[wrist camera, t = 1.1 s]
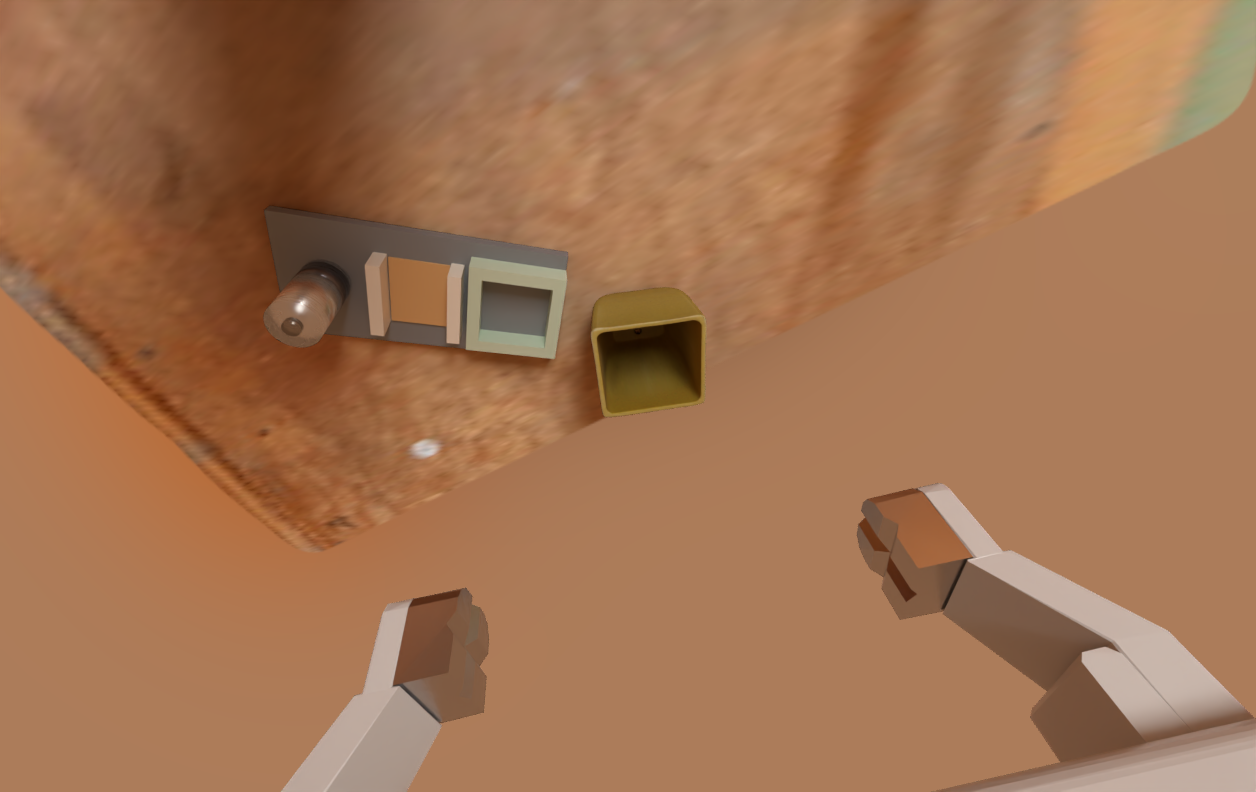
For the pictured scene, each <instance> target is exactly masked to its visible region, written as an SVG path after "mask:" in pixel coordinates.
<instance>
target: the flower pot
mask: <svg viewBox="0 0 1256 792" xmlns="http://www.w3.org/2000/svg"><path fill="white" fill-rule="evenodd" d="M636 329H641V332H640V333H636V332H635V330H636ZM591 342H592V347H593V354H594V360H595V366H596V373H597V380H598V387H599V394H600V401H601V409H602V414H603V416H604V417H617V416H626V415H633V414H639V413H646V412H653V411H659V410H666V409H673V408H680V407H688V406H693V405H698V404H701V403H704V401H705V358H706V318H705V316H704V315H703V314H702V312H701V311H700V310H699V309H698V307H697V306H696V305H695V304H694V303H693V301H692V300H691V299H690V298H689V297H688V296H687V295H686V294H685V293H684V292H683V291H681V290H678V289H675V288H666V287H663V288H653V289H646V290H638V291H631V292H622V293H614V294H609V295H605V296H603V297H601V298H599V299H598V300H597V301H596V303H595V304H594V307H593V312H592V323H591Z"/></svg>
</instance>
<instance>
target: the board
mask: <svg viewBox="0 0 1256 792" xmlns="http://www.w3.org/2000/svg"><path fill="white" fill-rule="evenodd" d="M264 213H265V218H266V223H267V229H268V234H269V239H270V244H271V249H272V254H273V259H274V264H275V270H276V275H277V280H278V285H279V290H280V293H281V292H282V290H283V289H284V288H285V287H286V286H287V285H288V283H289V282H290V281H291V280H292V278H293V277H294V276H295V275H296V274H297V273H298V271H299V270H300V269H301V268H302V267H303V266H304V265H305V264H306V263H307V262H309V261H311V260H315V259H324V260H328V261H331V262H334V263H336V264H337V265H339V266H340V267H342V268H343V269H344V270H345V271H346V273H347V274H348V276H349V277H350V280H351V291H350V293H349V295H348V297H347V299H346V300H345V302H344V303H343V305H342V307H341V308H340V310H339V311H338V312H337V314H336V315H335V317H334V319H333V320H332V322H331V323H330V325H329V327H328V328H327V330H326V331H325V333H324V334H330V335H339V336H349V337H358V338H368V339H377V340H387V341H396V342H406V343H415V344H425V345H435V346H444V347H454V348H463V349H466V331H467V305H468V278H469V265H470V261H471V257H478V258H485V259H492V260H499V261H505V262H512V263H519V264H526V265H533V266H539V267H546V268H553V269H560V270H566V267H567V261H568V252H564V251H557V250H551V249H544V248H538V247H531V246H525V245H519V244H512V243H506V242H499V241H493V240H486V239H480V238H474V237H467V236H461V235H454V234H448V233H442V232H435V231H429V230H422V229H416V228H409V227H403V226H397V225H390V224H384V223H377V222H371V221H365V220H358V219H352V218H345V217H339V216H332V215H326V214H320V213H313V212H307V211H300V210H294V209H287V208H281V207H275V206H269V207H267V208H266V209H265V210H264ZM373 252H378V253H385V254H387V262H388V257H396V258H403V259H410V260H417V261H424V262H431V263H438V264H445V265H450V267H451V263H455V264H462V265H465V269H464V299H463V329H462V334H461V338H460V343H459V344H452V343H447V326H438V325H429V324H421V323H412V322H403V321H394V320H392V318H391V322H390V324H389V327H388V329H387V331H386V333H385V336H377V335H371V332H370V321H369V309H368V298H367V286H366V275H365V264H366V262H367V261H368V259H369V257H370V256H371V254H372V253H373ZM388 278H389V266H388ZM550 294H551V290H547V289H540V288H532V287H525V286H518V285H510V284H503V283H496V282H488V281H483V293H482V310H481V328H480V329H483V330H492V331H501V332H509V333H518V334H527V335H535V336H545V329H546V322H547V315H548V308H549V301H550ZM389 295H390V283H389ZM390 312H391V300H390Z"/></svg>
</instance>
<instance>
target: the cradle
mask: <svg viewBox="0 0 1256 792" xmlns="http://www.w3.org/2000/svg"><path fill="white" fill-rule="evenodd" d="M388 266H389V278H388ZM464 269H465V265H462V264H455V263H451V267H450V265H445V264H438V263H431V262H424V261H417V260H410V259H403V258H396V257H388V262H387V254H385V253H378V252H373V253H372V254H371V256H370V257H369V259H368V261H367V262H366V264H365V275H366V286H367V298H368V309H369V321H370V332H371V335H377V336H385V333H386V331H387V329H388V327H389V324H390V322H391V318H392V320H394V321H403V322H412V323H421V324H429V325H438V326H447V343H452V344H459V343H460V338H461V334H462V329H463V299H464ZM389 283H390V295H389ZM390 300H391V312H390Z"/></svg>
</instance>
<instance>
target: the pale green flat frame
mask: <svg viewBox="0 0 1256 792" xmlns="http://www.w3.org/2000/svg"><path fill="white" fill-rule="evenodd" d="M483 281H488V282H496V283H503V284H510V285H518V286H525V287H532V288H540V289H547V290H551V294H550V301H549V308H548V315H547V322H546V329H545V336H535V335H527V334H518V333H509V332H501V331H492V330H483V329H480V328H481V310H482V293H483ZM566 285H567V275H566V270H560V269H553V268H546V267H539V266H533V265H526V264H519V263H512V262H505V261H499V260H492V259H485V258H478V257H471V261H470V265H469V278H468V305H467V331H466V350H473V351H482V352H492V353H502V354H511V355H521V356H530V357H540V358H549V359H555V354H556V348H557V341H558V335H559V329H560V323H561V316H562V310H563V304H564V297H565V291H566Z"/></svg>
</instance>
